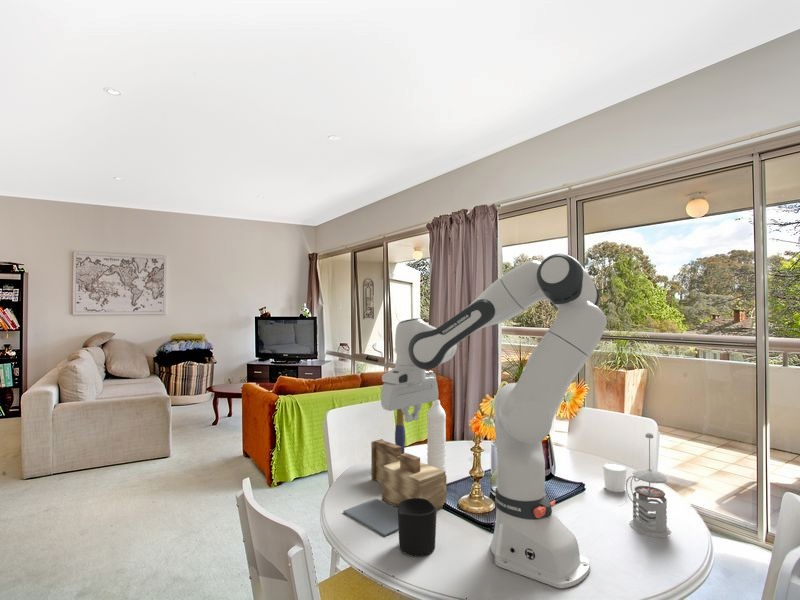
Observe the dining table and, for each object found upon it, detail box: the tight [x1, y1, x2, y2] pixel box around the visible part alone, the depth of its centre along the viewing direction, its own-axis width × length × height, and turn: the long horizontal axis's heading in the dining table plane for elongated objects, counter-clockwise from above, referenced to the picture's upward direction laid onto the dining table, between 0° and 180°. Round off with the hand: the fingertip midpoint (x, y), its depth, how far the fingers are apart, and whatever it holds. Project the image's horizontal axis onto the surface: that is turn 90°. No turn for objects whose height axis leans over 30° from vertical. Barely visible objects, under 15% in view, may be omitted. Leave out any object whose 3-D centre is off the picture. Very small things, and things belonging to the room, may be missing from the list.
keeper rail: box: [370, 438, 400, 483], centre depth 149 cm, size 12×4×13 cm, turn 43°
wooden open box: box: [381, 470, 447, 511], centre depth 135 cm, size 16×11×9 cm
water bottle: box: [426, 399, 447, 472], centre depth 161 cm, size 9×6×25 cm
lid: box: [383, 452, 446, 485], centre depth 135 cm, size 16×11×5 cm
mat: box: [342, 498, 399, 538], centre depth 126 cm, size 18×12×1 cm, turn 43°
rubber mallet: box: [394, 409, 406, 454], centre depth 167 cm, size 12×8×30 cm, turn 178°
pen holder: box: [397, 498, 438, 558], centre depth 111 cm, size 9×9×10 cm
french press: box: [625, 432, 672, 539], centre depth 121 cm, size 10×12×25 cm
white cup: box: [602, 462, 627, 493], centre depth 146 cm, size 7×7×7 cm
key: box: [375, 439, 401, 456], centre depth 150 cm, size 10×2×2 cm, turn 43°
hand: (411, 420), depth 134 cm, fingers closed
